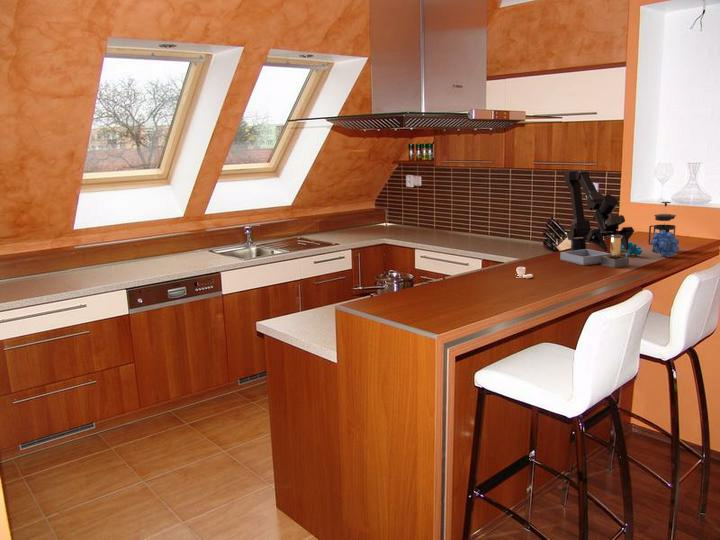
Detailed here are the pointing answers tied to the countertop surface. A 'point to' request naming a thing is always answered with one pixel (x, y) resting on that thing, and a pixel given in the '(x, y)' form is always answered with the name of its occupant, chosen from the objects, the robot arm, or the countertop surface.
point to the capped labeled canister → (615, 246)
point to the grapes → (665, 243)
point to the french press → (662, 227)
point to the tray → (583, 256)
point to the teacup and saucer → (523, 272)
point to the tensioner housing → (615, 261)
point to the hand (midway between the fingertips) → (617, 250)
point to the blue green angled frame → (631, 249)
